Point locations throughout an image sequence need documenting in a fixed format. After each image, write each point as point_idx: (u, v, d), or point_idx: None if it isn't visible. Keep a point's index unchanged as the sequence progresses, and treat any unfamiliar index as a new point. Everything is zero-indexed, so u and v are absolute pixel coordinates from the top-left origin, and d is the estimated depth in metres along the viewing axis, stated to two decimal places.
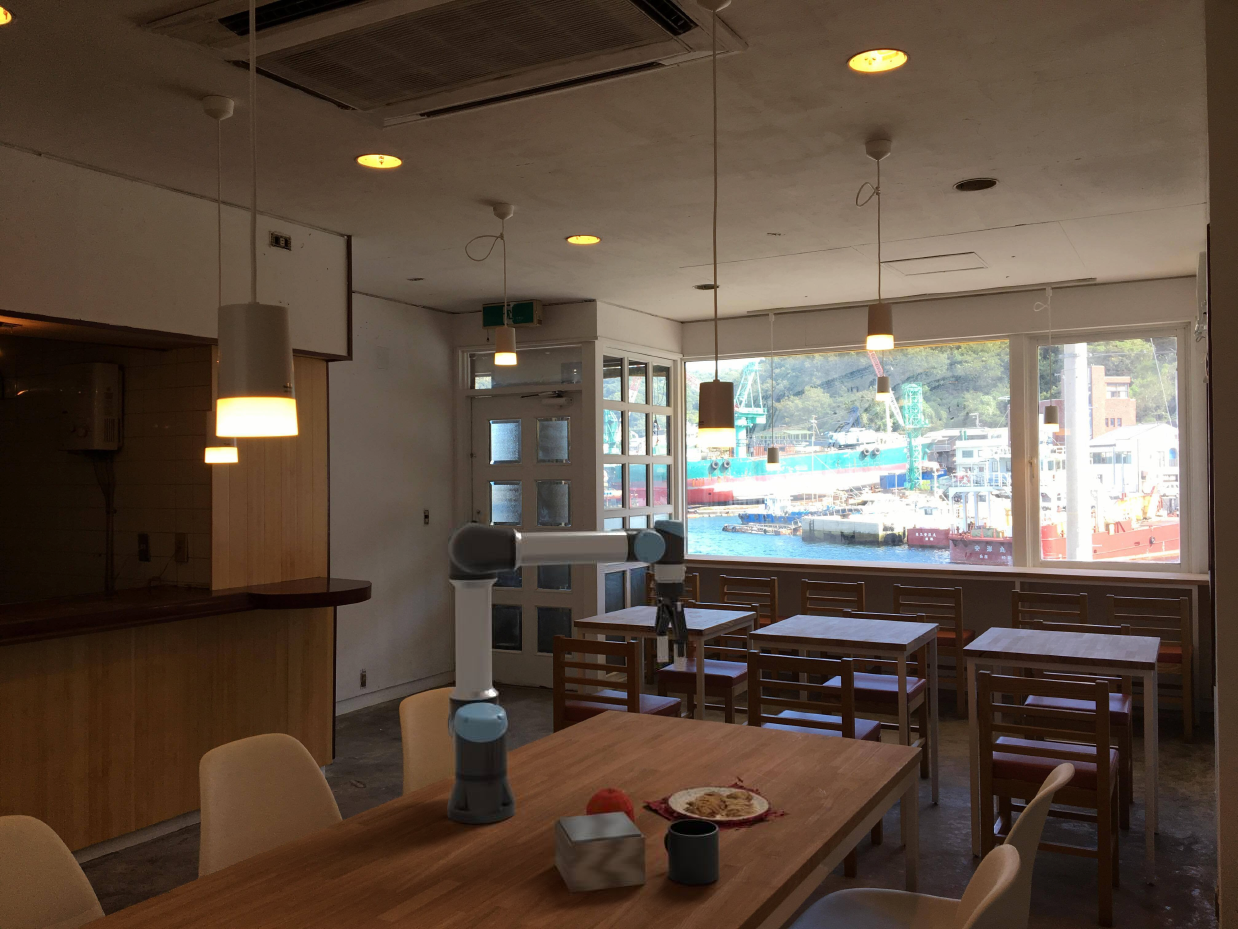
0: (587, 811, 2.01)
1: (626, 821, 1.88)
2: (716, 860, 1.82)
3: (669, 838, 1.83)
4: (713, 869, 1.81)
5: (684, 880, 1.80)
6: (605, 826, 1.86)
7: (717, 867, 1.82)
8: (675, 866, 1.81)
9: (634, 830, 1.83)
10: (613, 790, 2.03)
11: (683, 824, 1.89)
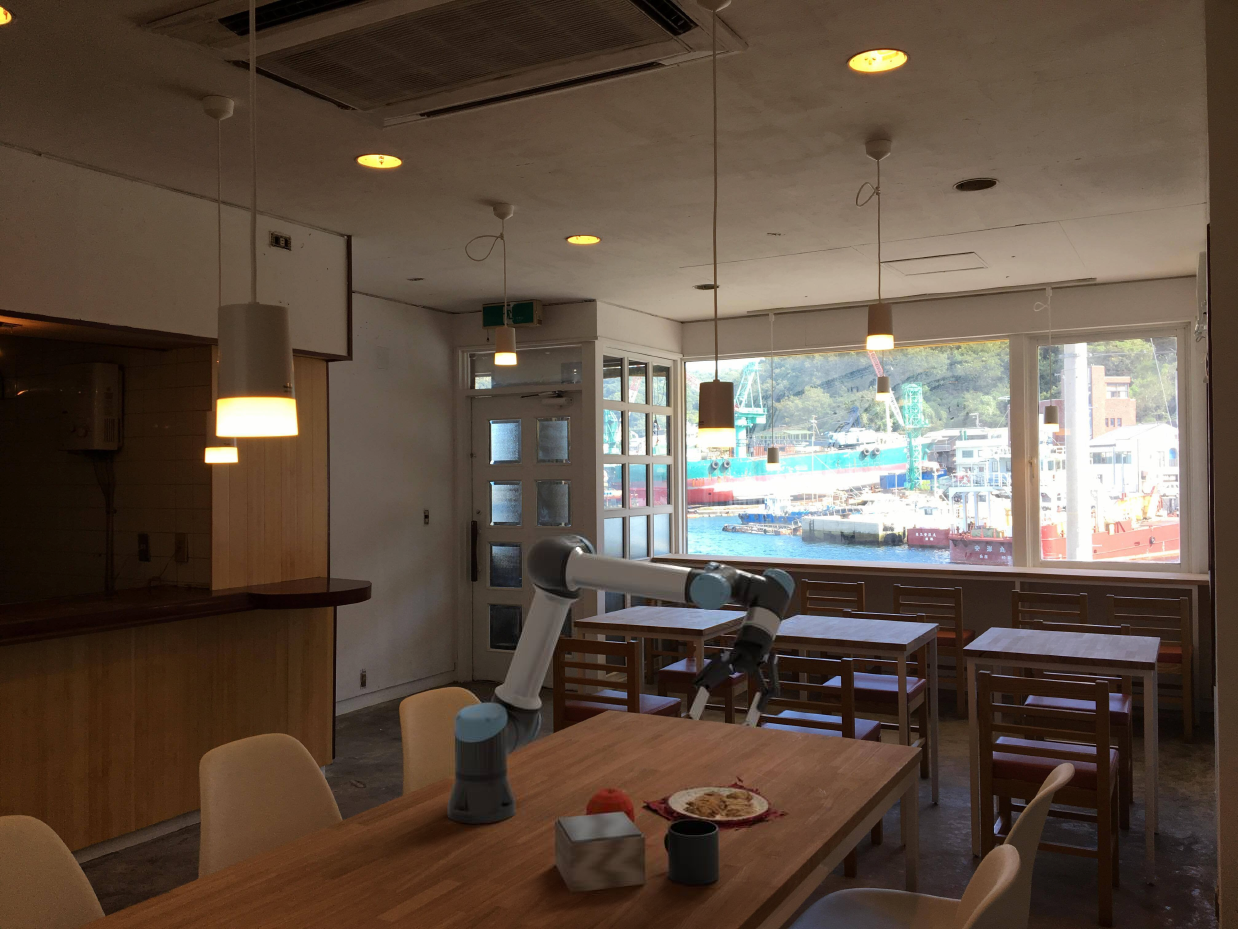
0: (587, 811, 2.01)
1: (626, 821, 1.88)
2: (716, 860, 1.82)
3: (669, 838, 1.83)
4: (713, 869, 1.81)
5: (684, 880, 1.80)
6: (605, 826, 1.86)
7: (717, 867, 1.82)
8: (675, 866, 1.81)
9: (634, 830, 1.83)
10: (613, 790, 2.03)
11: (683, 824, 1.89)
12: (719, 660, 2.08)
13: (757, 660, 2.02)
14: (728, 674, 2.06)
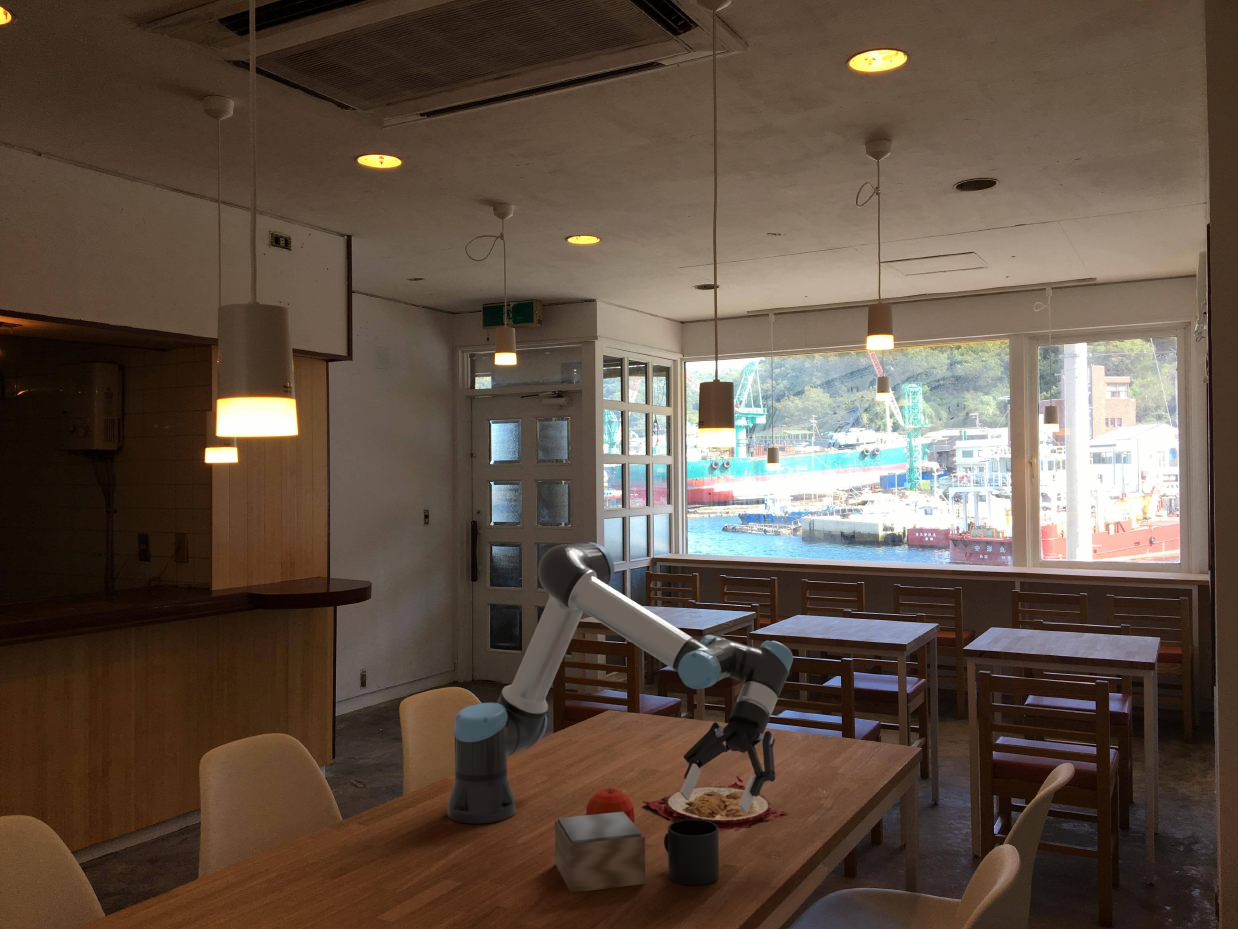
0: (587, 811, 2.01)
1: (626, 821, 1.88)
2: (716, 860, 1.82)
3: (669, 838, 1.83)
4: (713, 869, 1.81)
5: (684, 880, 1.80)
6: (605, 826, 1.86)
7: (717, 867, 1.82)
8: (675, 866, 1.81)
9: (634, 830, 1.83)
10: (613, 790, 2.03)
11: (683, 824, 1.89)
12: (713, 735, 2.02)
13: (752, 739, 1.96)
14: (721, 751, 1.99)
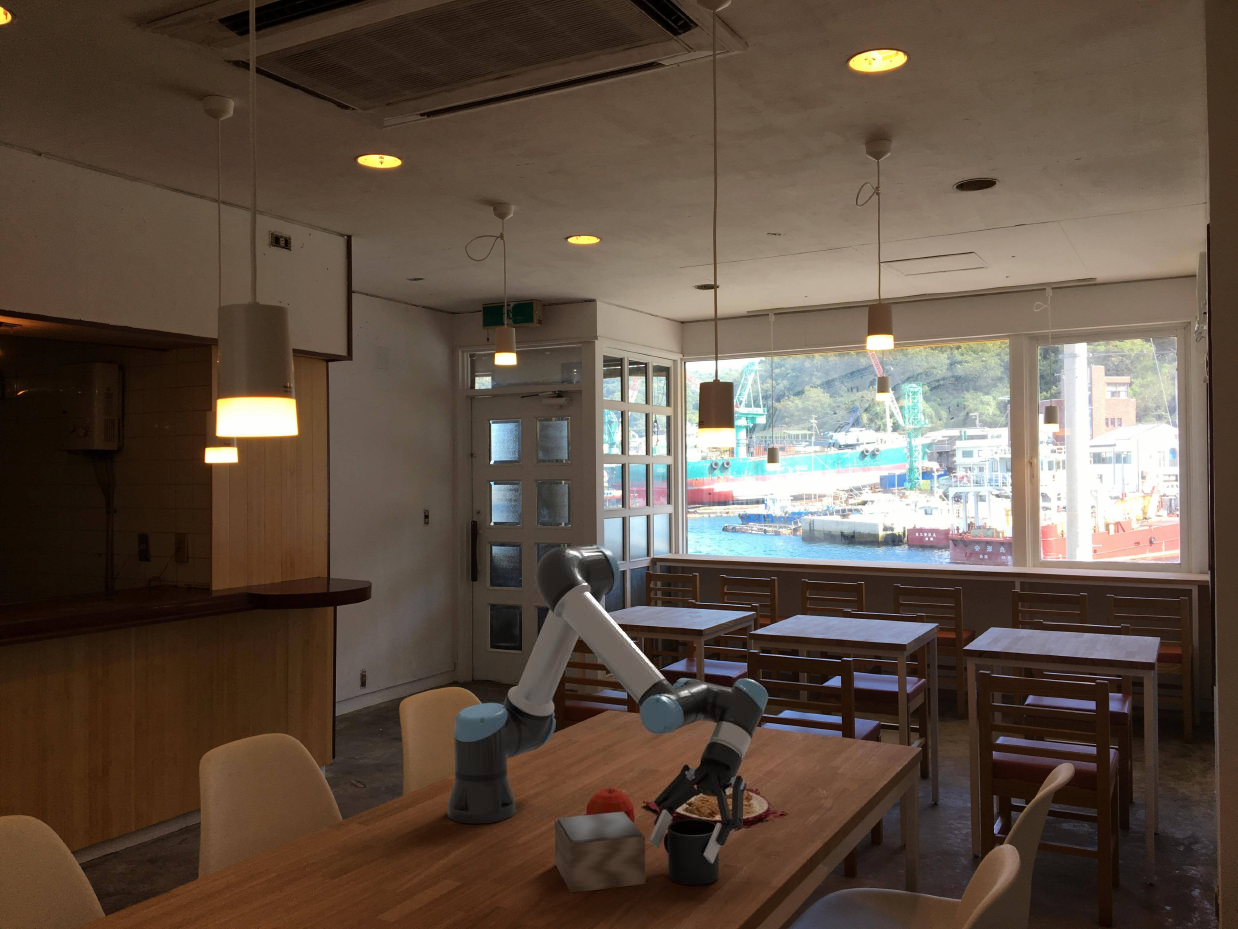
0: (587, 811, 2.01)
1: (626, 821, 1.88)
2: (716, 860, 1.82)
3: (669, 838, 1.83)
4: (713, 869, 1.81)
5: (684, 880, 1.80)
6: (605, 826, 1.86)
7: (717, 867, 1.82)
8: (675, 866, 1.81)
9: (634, 830, 1.83)
10: (613, 790, 2.03)
11: (683, 824, 1.89)
12: (684, 778, 1.95)
13: (723, 783, 1.89)
14: (693, 795, 1.92)
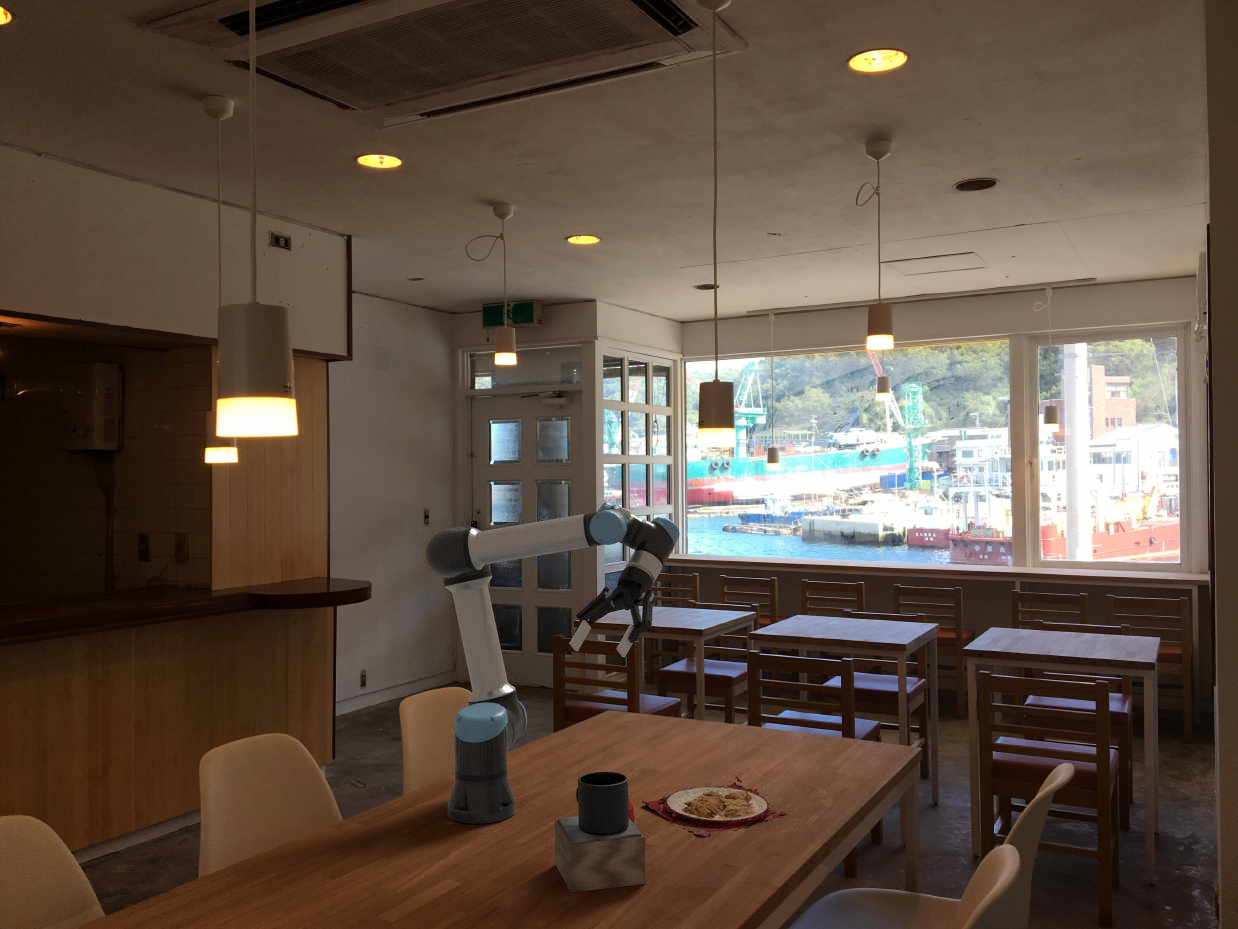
0: None
1: None
2: (625, 810, 1.83)
3: (578, 789, 1.84)
4: (622, 819, 1.82)
5: (592, 830, 1.81)
6: None
7: (626, 817, 1.83)
8: (584, 816, 1.82)
9: (634, 830, 1.83)
10: None
11: (594, 776, 1.90)
12: (603, 597, 2.25)
13: (635, 597, 2.19)
14: (609, 610, 2.22)
